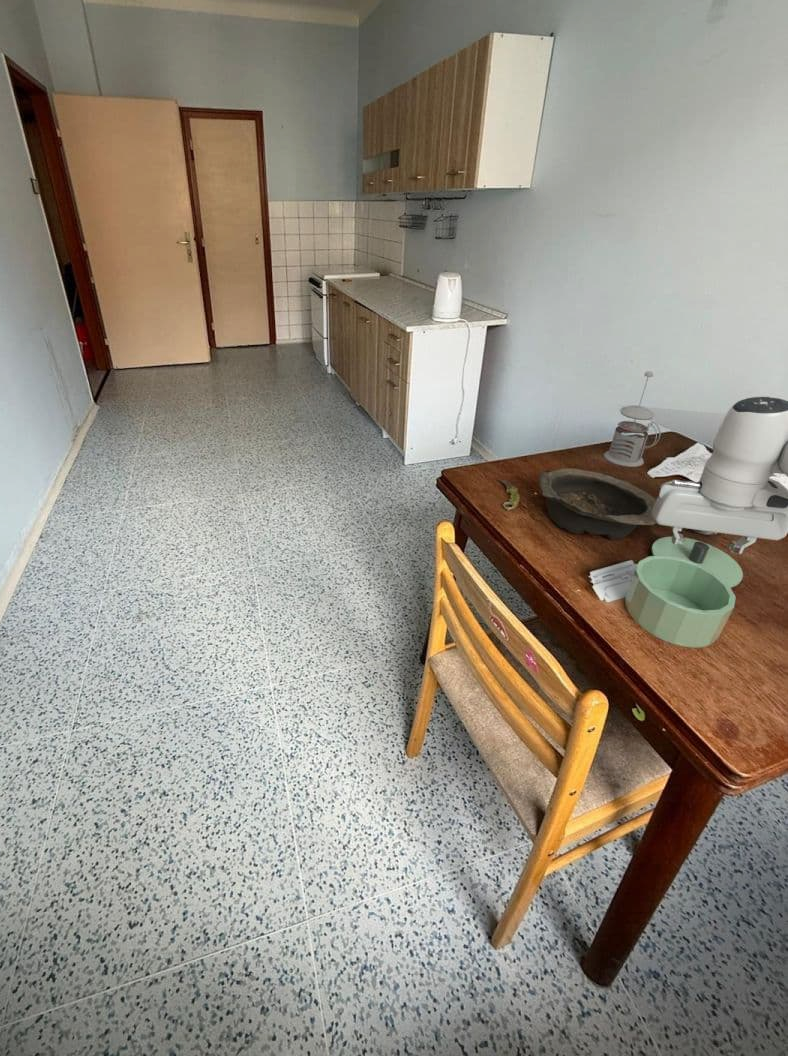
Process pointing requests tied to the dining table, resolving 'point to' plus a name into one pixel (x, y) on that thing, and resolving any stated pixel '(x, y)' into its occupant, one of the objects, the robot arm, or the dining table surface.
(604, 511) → the stone bowl
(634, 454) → the french press
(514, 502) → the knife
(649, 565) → the pot
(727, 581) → the pot lid
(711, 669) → the dining table surface
